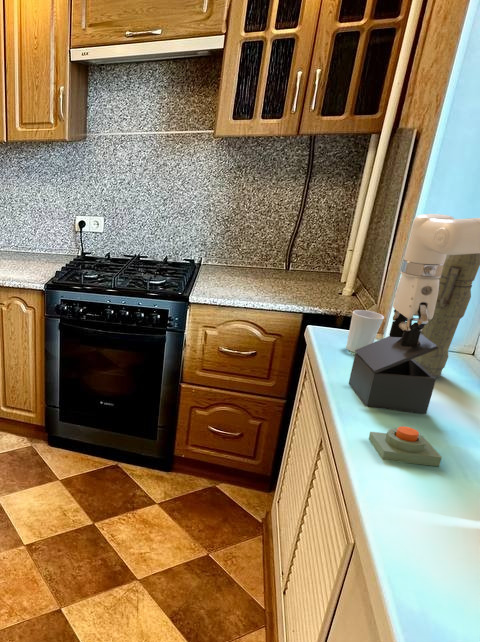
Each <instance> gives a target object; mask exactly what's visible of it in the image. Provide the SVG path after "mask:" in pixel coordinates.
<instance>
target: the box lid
mask: <svg viewBox="0 0 480 642" xmlns="http://www.w3.org/2000/svg"><path fill="white" fill-rule="evenodd" d="M406 322H407V321H405V322H401V323H400V324H399V328H401V329H402V330H403V331H404V330H406V327H407V323H406ZM401 339H402V337H391V336H386V337H383V338H382V339H379V340H376V341H374V342H373V343H371V344H369V345H367V346H364V347H362V348H359V349H357V350H355V351H356V352H355V353H357V354H358V355H359V356H360V357H361V358H362V359H363V360H364V362H365V363H366V364H367V365H368V366H369V367H370V368H371V369H372V370H373V371H374V372H375V373H378V372H381V371H383V370H386V369H388V368H391V367H393V366H396V365H399V364H401V363H404V362H406V361H409V360H411V359H414V358H416V357H419V356H421V355H424V354H426V353H429V352H432V351H434V350H437V349H439V348H438V346H437V345H435V344H434V343H433V342H431V341H430V340H429V339H427V338H426V337H425V336H423V335H422V334H420V336H419V340H418V343H417V346H416V347H405V346H401V345H400V343H401Z"/></svg>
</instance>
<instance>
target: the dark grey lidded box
mask: <svg viewBox="0 0 480 642" xmlns="http://www.w3.org/2000/svg"><path fill="white" fill-rule="evenodd" d="M349 375H350V376H349V380H348V385H349V386H350V387H351V389H352V391H353V392H354V394H356V396H357V397H358V399H359V400H360V401H361V403H362V404H363V405H364V407H366V408H373V409H379V410H380V409H381V410H387V411H388V410H389V411H396V412H402V413H411V414H412V413H413V414H425V415H427V412H428V409H429V405H430V402H431V398H432V395H433V391H434V388H435V385H436V381H437V377H434V376H433V375H431V374H430V373H429V372H428V371H427V370H426V369H424V368H423V367H422V366H421V365H420V364H419V363H417V362H416V361H415V360H414V359H411V360H409V361H406V362H404V363H401V364H399V365H396V366H393V367H391V368H388V369H386V370H383V371H381V372H378V373H375V372H374V371H373V370H372V369H371V368H370V367H369V366H368V365H367V364H366V363H365V362H364V360H363V359H362V358H361V357H360V356H359V355H358V354H357V353H356V352H354V358H353V362H352V367H351V371H350V374H349Z"/></svg>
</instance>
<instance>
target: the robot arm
mask: <svg viewBox="0 0 480 642" xmlns="http://www.w3.org/2000/svg"><path fill="white" fill-rule="evenodd" d="M407 240H408V241H407V244H406V248H405V252H404V256H403V260H402V264H401V268H400V271H399V272H400V278H399V281H398V284H397V286H396V289H395V295H394V298H393V303H392V307H393V309H394V310H393V313H394V314H393V315H392V323H391V327H390V330H389V334H388V335H389V336H391V337H402V339H401V343H400V345H401V346H405V347H416V346H417V343H418V340H419V336H420V332H422V328H424V326H425V325H427V324H428V320H431V319H432V318H433V315H434V311H435V306H436V302H437V297H438V290H439V278H440V277H441V274H442V270H443V267H444V263H445V260H446V256H447V255H462V254H476V253H480V217H470V218H454V217H453V216H452V215H448V214H442V213H422V214H418V215H417V216H416V217H414V219H413V222H412V225H411V229H410V231H409V236H408V239H407ZM414 316H415V317H414ZM413 321H414V322H413ZM401 322H406V323H407V327H406V330H404V331H403V330H402V329H401V328H399V324H400V323H401Z"/></svg>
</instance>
